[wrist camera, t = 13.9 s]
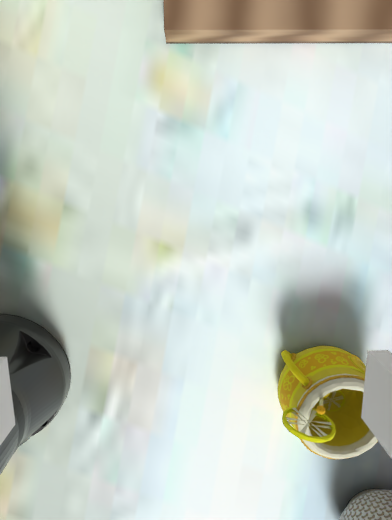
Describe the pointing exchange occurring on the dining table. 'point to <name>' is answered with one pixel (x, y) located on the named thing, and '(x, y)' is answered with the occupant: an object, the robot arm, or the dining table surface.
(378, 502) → the planter
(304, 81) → the dining table surface
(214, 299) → the dining table surface
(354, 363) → the mug
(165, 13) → the hole block
